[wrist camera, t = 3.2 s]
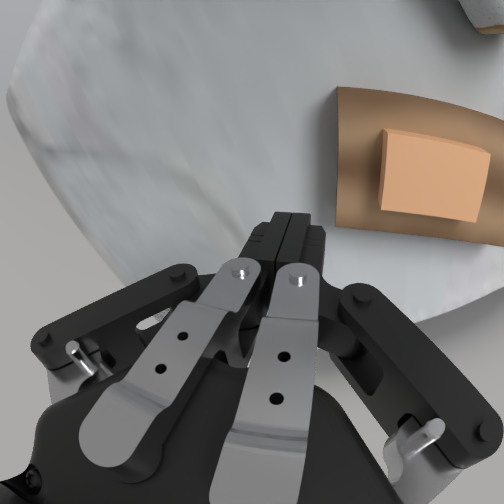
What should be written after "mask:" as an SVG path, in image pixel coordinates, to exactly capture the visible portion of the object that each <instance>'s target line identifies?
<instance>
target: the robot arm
mask: <svg viewBox="0 0 504 504" xmlns="http://www.w3.org/2000/svg"><path fill="white" fill-rule="evenodd" d="M325 238H326V232H325V231H324V229H323V228H322V226H315V225H311V215H310V214H307V213H291V212H275V213H274V215H273V217H272V219H271V221H270V222H262V223H260V224H259V225H258V226H256V227H255V228H254V230H253V231H252V233H251V236H250V237H249V239H248V241H247V242H246V244H245V246H244V248H243V249H242V251H241V253H240V255H239V257H238V258H235V259H232V260H229V261H227V262H226V263H225V264H223V265H222V267H221V268H220V269H219V271H218V272H217V273H216V274H208V275H198V273H197V270H196V268H195V267H194V266H192V265H190V264H176V265H173V266H171V267H168V268H166V269H164V270H162V271H160V272H157V273H155V274H153V275H151V276H149V277H147V278H144V279H142V280H140V281H138V282H136V283H134V284H132V285H129V286H127V287H125V288H123V289H121V290H119V291H117V292H114V293H112V294H110V295H108V296H106V297H104V298H102V299H100V300H98V301H96V302H93V303H91V304H89V305H88V306H85V307H83V308H81V309H79V310H77V311H75V312H73V313H71V314H69V315H67V316H65V317H63V318H60V319H58V320H57V321H54V322H52V323H50V324H48V325H46V326H44V327H42V328H41V329H40V330H39V331H37V333H36V334H35V335H34V337H33V338H32V341H31V351H32V352H33V353H34V354H35V355H36V357H37V358H38V359H39V360H40V361H41V362H42V363H43V365H44V367H45V368H46V369H47V374H48V382H49V390H50V397H51V402H52V405H51V406H50V407H48V408H47V409H46V410H45V411H44V412H43V414H42V415H41V417H40V418H39V420H38V423H37V426H36V431H35V440H34V447H33V452H32V456H31V460H30V464H29V465H28V467H27V469H26V470H25V471H24V472H23V473H21V474H20V475H18V476H15V477H13V478H10V479H8V480H4V481H0V504H428V503H429V502H430V501H432V500H433V499H434V498H435V497H436V496H437V495H438V494H439V493H440V492H442V491H443V490H444V489H445V488H446V487H447V486H448V485H449V484H450V483H451V482H452V481H453V480H454V479H455V478H456V477H457V476H458V475H459V474H460V473H461V472H462V471H463V470H464V469H466V468H468V467H470V466H472V465H474V464H476V463H478V462H480V461H482V460H484V459H486V458H488V457H489V456H491V455H492V454H494V453H495V452H496V451H497V449H498V448H499V446H500V444H501V442H502V438H503V423H502V420H501V418H500V416H499V415H498V414H497V412H496V411H495V410H494V409H493V408H492V407H491V405H490V404H489V403H488V402H487V401H486V399H484V397H483V396H482V395H481V394H480V393H479V391H478V390H477V389H476V388H475V387H474V386H473V385H472V384H471V382H470V381H469V380H468V379H467V378H466V377H465V376H464V375H463V374H462V373H461V372H460V370H459V369H458V368H457V367H456V366H455V365H454V364H453V363H452V362H451V361H450V360H449V359H448V358H447V357H446V355H445V354H444V353H442V351H441V350H440V349H439V348H438V347H437V346H436V345H435V344H434V343H433V342H432V341H431V340H430V339H429V338H428V337H427V336H426V335H425V334H424V333H423V332H422V331H421V330H420V329H419V328H418V327H417V326H416V325H415V324H414V323H413V322H412V321H411V320H410V319H409V318H408V317H407V316H406V315H405V314H404V313H402V312H401V311H400V310H399V309H398V308H397V307H396V306H395V305H394V304H393V303H392V302H391V301H390V300H389V299H388V298H387V297H386V296H384V295H383V294H382V293H381V292H380V291H379V290H378V289H377V288H375V287H373V286H371V285H368V284H364V283H355V284H351V285H348V286H346V287H345V288H344V289H343V290H341V289H338V288H336V287H333V286H331V285H330V284H328V283H327V282H326V281H325V280H324V279H323V277H322V273H323V265H324V253H325ZM167 308H170V311H171V313H172V314H171V315H170V317H169V318H168V319H166V320H163V321H161V322H159V323H157V324H155V325H153V326H151V327H150V328H147V329H145V330H139V329H137V328H136V325H137V324H138V323H139V322H140V321H142V320H144V319H146V318H149V317H151V316H153V315H155V314H157V313H159V312H161V311H163V310H165V309H167ZM267 312H268V314H267ZM266 315H267V316H266ZM317 347H318V348H321V349H323V350H326V351H328V352H329V355H330V357H331V360H332V361H333V362H334V363H335V365H336V366H337V368H338V369H339V370H340V372H341V373H342V375H343V376H344V377H345V378H346V380H347V381H348V383H349V384H350V385H351V387H352V388H353V389H354V391H355V392H356V393H357V395H358V396H359V397H360V399H361V400H362V401H363V403H364V404H365V405H366V407H367V408H368V409H369V411H370V412H371V414H372V415H373V416H374V418H375V419H376V420H377V421H378V423H379V424H380V426H381V427H382V428H383V430H384V431H385V432H386V434H387V435H388V436H389V438H388V439H387V441H386V442H385V445H384V448H383V458H384V461H385V463H386V465H387V468H388V478H387V477H386V475H385V474H384V472H383V471H382V469H381V468H380V466H379V464H378V463H377V461H376V460H375V458H374V457H373V455H372V453H371V452H370V450H369V449H368V447H367V446H366V444H365V443H364V441H363V440H362V438H361V437H360V435H359V433H358V432H357V430H356V429H355V427H354V425H353V424H352V422H351V421H350V419H349V418H348V416H347V414H346V413H345V411H344V410H343V408H342V407H341V405H340V404H339V403H338V402H337V401H336V400H335V398H333V397H332V396H331V395H330V394H329V393H327V392H326V391H324V390H323V389H322V388H320V387H318V386H316V385H314V379H315V368H316V356H317ZM251 356H252V358H251ZM250 359H251V362H250V365H249V368H247V366H248V363H249V361H250Z"/></svg>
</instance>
